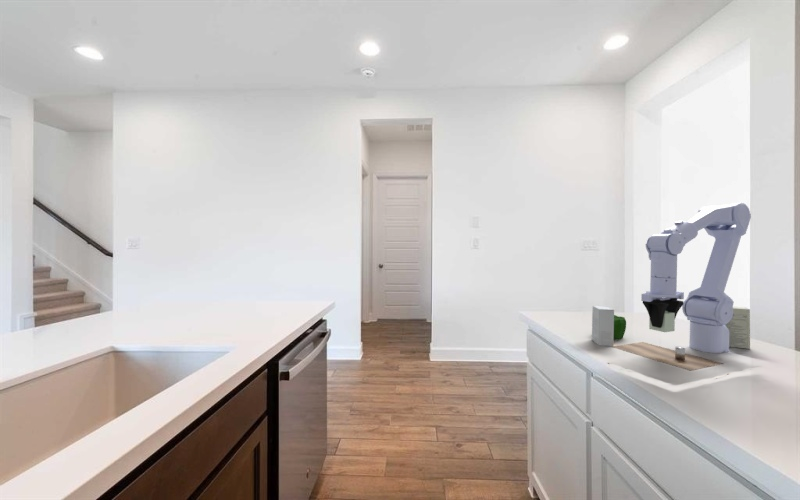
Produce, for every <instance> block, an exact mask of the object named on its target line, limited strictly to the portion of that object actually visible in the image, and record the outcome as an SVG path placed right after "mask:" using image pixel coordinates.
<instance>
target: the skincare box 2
mask: <svg viewBox="0 0 800 500" xmlns="http://www.w3.org/2000/svg"><path fill="white" fill-rule="evenodd" d="M750 319H751V309H750V308H747V307H744V306H733V316H732V319H731V320H730V321H729V322H728V323H727V324H726V325H725V326H726V327H727V328H728V330H729V348H730V347H731V348H739V349H747V350H748V349H751V320H750Z"/></svg>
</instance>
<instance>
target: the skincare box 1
mask: <svg viewBox="0 0 800 500" xmlns="http://www.w3.org/2000/svg"><path fill="white" fill-rule="evenodd" d="M614 315H615V309H612V308H611V307H608V306H600V305H592V315H591V316H592V317H591V321H592V322H591V341H593V342H594V343H595V344H597V345H598V346H609V347H610V346H611V347H612V346H614V340H615V339H614Z"/></svg>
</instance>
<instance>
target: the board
mask: <svg viewBox="0 0 800 500" xmlns="http://www.w3.org/2000/svg"><path fill="white" fill-rule="evenodd" d="M611 348H614V349H618V350H621V351H624V352H626V353H631V354H633V355H638V356H640V357H644V358H647V359H650V360H654V361H657V362H661V363H664V364H667V365H669V366H670V365H671V366H673V367H675V368H676V367H678V368H680V369H683V370H687V371H695V370H699V369H704V368H710V367H715V366H718V365H724V363H723V362H719V361H715V360H712V359H708V358H704V357H701V356H697V355H693V354H690V353H687V352H685V360H678V359H675V349H671V348H667V347H663V346H659V345H655V344H653V343H648V342H645V341H640V342H634V343H626V344H619V345H613V346H611Z"/></svg>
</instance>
